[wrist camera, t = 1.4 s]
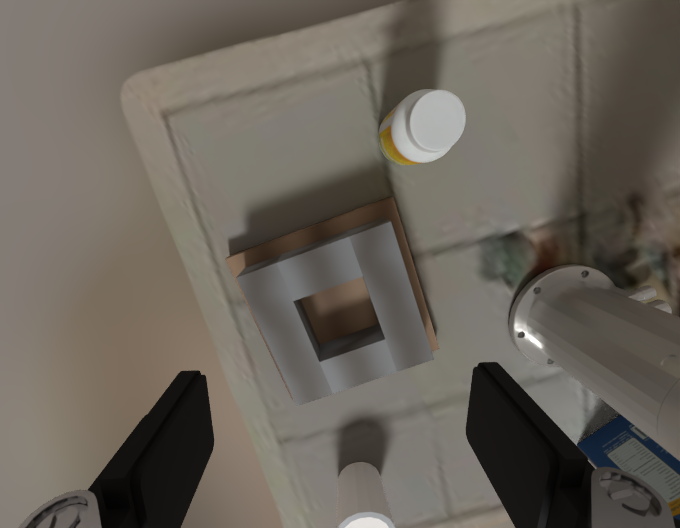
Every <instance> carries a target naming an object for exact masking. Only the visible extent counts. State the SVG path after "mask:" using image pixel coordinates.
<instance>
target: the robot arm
mask: <svg viewBox="0 0 680 528" xmlns="http://www.w3.org/2000/svg"><path fill="white" fill-rule="evenodd" d="M656 294H657V293H656V290H655V289H654V288H653V287H651V286H649V285H646V286H643V287H640V288H637V289H635V290H633V291H630V292H629V291H626V290H623V289H620V288H618V287H615V285H614V283H613V282H612V281H611V280H610V278H609V277H608V276H607V275H605V274H604V273H602V272H600V271H599V270H596V269H593V268H591V267H587V266H583V265H577V264H568V265H562V266H557V267H554V268H551V269H548V270H546V271H545V272H543V273H541V274H539V275H538V276H536V277H535V278H534V279H532V280H531V281H530V282H529V283H528V284H527V285H526V286H525V287H524V288H523V289H522V290H521V292H520V293H519V295H518V296H517V298H516V300H515V302H514V304H513V306H512V309H511V313H510V317H509V329H510V335H511V338H512V340H513V343H514V344H515V346H516V347H517V349H518V350H519V351H520V352H521V353H522V354H523V355H524V356H526V357H527V358H528V359H530V360H531V361H533V362H535V363H537V364H540V365H543V366H548V367H561V368H562V369H564V370H565V371H566V372H567V373H569V374H570V375H571V376H573V377H574V378H575V379H576V380H578V381H579V382H580V383H581V384H583V385H584V386H585V387H587V388H588V389H589V390H590V391H592V392H593V393H594V394H595V395H597V396H598V397H599V398H600V399H602V400H603V401H604V402H606V403H607V404H608V405H609V406H611V407H612V408H613V409H614V410H616V411H617V412H618V413H619V414H621V415H622V416H623V417H625V418H626V419H627V420H628V421H630V422H631V423H632V424H633V425H635V426H636V427H637V428H639V429H640V430H641V431H642V432H644V433H645V434H646V435H647V436H649V437H650V438H651V439H652V440H654V441H655V442H656V443H658V444H659V445H660V446H661V447H663V448H664V449H665V450H666V451H668V452H669V453H670V454H671V455H673V456H674V457H675V458H676V459H678V460H679V461H680V317H679V316H676V315H673V314H672V310H671V307H670V306H669V305H668V304H667V303H666V302H665V301H663V300H655V301H652V302H649V303H646V304H645V303H642V302H640V301H644V300H647V299H650V298H653V297H655V296H656ZM466 436H467V439H468V442H469V444H470V445H471V447H472V449H473V451H474V453H475V455H476V456H477V458H478V460H479V462H480V464H481V466H482V467H483V469H484V471H485V473H486V475H487V476H488V478H489V480H490V482H491V484H492V486H493V487H494V489H495V491H496V493H497V495H498V497H499V498H500V500H501V502H502V504H503V506H504V507H505V509H506V511H507V513H508V515H509V517H510V518H511V520H512V522H513V524H514V526H515V528H680V520H678V519H676V518H674V517H673V516H672V512H671V510H670V508H669V506H668V503H667V502H666V501H665V500H664V498H663V497H662V496H661V495H660V494H659V493H658V492H657V491H656V490H655V489H654V488H652V487H651V486H650V485H649V484H647V483H646V482H644V481H643V480H641V479H640V478H638V477H636V476H634V475H632V474H630V473H628V472H626V471H623V470H620V469H617V468H611V467H599V468H597V469H595V468H594V467H593V466H592V465H591V464H590V463H589V462H588V458H587V456H586V455H585V454H584V453H583V452H582V451H581V450H580V449H579V448H578V447H577V446H576V445H575V444H574V443H573V442H572V441H571V440H570V439H569V437H568V436H567V435H566V434H565V433H564V432H563V431H562V430H561V429H560V428H559V427H558V426H557V425H556V424H555V423H554V422H553V421H552V420H551V418H550V417H549V416H548V415H547V414H546V413H545V412H544V411H543V410H542V409H541V408H540V407H539V406H538V405H537V404H536V403H535V402H534V400H533V399H532V398H531V397H530V396H529V395H528V394H527V393H526V392H525V391H524V390H523V389H522V388H521V387H520V386H519V385H518V384H517V383H516V381H515V380H514V379H513V378H512V377H511V376H510V375H509V374H508V373H507V372H506V371H505V370H504V369H503V368H502V367H501V366H500V365H499V364H498V363H497V362H482V363H479V364H478V366H477V367H474V369H473V375H472V383H471V391H470V399H469V407H468V415H467V423H466ZM213 446H214V434H213V427H212V420H211V411H210V404H209V396H208V388H207V381H206V376H205V375H201V373H200V371H181V372H180V373H179V374H178V375H177V376H176V378H175V379H174V380H173V382H172V383H171V384H170V386H169V387H168V388H167V390H166V391H165V392H164V394H163V395H162V396H161V398H160V399H159V400H158V401H157V403H156V404H155V405H154V407H153V408H152V409H151V411H150V412H149V413H148V414H147V415H146V416H145V417H144V418H143V419H142V420H141V421H140V422H139V424H138V425H137V426H136V428H135V429H134V430H133V432H132V433H131V434H130V435H129V437H128V438H127V439H126V441H125V442H124V443H123V445H122V446H121V447H120V448H119V450H118V451H117V453H116V454H115V455H114V456H113V458H112V459H111V460H110V461H109V463H108V464H107V466H106V467H105V468H104V469H103V471H102V472H101V473H100V475H99V476H98V477H97V478H96V480H95V481H94V482H93V484H92V485H91V486H90V488H89V489H88V490H76V491H71V492H67V493H65V494H62V495H60V496H58V497H55V498H53V499H52V500H50V501H48V502H47V503H45V504H43V505H42V506H40V507H39V508H38V509H37V510H35V511H34V512H33V513H31V514H30V515H29V517H28V518H26V520H25V521H24V522H23V523H22V524H21V525H20V526H19V528H181V525H182V523H183V520H184V518H185V516H186V513H187V510H188V508H189V506H190V503H191V501H192V498H193V496H194V494H195V492H196V489H197V487H198V484H199V482H200V480H201V477H202V475H203V472H204V470H205V467H206V465H207V463H208V460H209V458H210V455H211V453H212V451H213Z"/></svg>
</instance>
